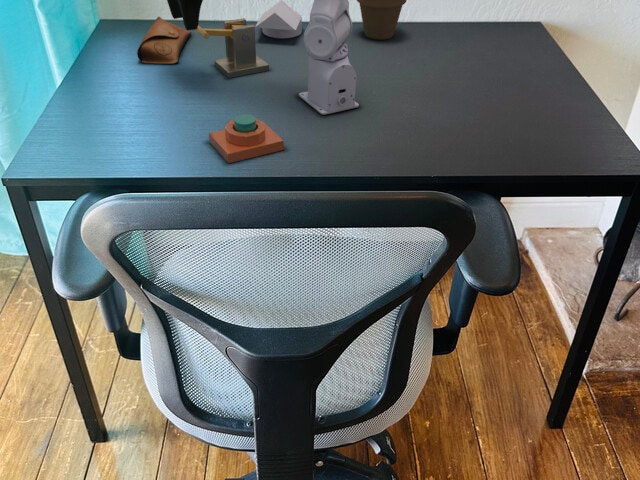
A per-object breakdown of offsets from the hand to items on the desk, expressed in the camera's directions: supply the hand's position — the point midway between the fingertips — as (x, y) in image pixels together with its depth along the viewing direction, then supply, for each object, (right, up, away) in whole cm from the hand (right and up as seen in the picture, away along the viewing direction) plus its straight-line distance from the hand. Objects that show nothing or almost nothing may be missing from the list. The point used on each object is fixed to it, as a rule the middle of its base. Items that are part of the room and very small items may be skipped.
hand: (185, 23), depth 124 cm
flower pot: (+39, +9, +28) cm, 48 cm away
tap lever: (+6, -1, +5) cm, 8 cm away
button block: (+13, -27, -13) cm, 32 cm away
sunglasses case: (-8, +3, +18) cm, 20 cm away
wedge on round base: (+16, +9, +26) cm, 32 cm away
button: (+13, -24, -15) cm, 31 cm away
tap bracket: (+9, -4, +11) cm, 15 cm away
